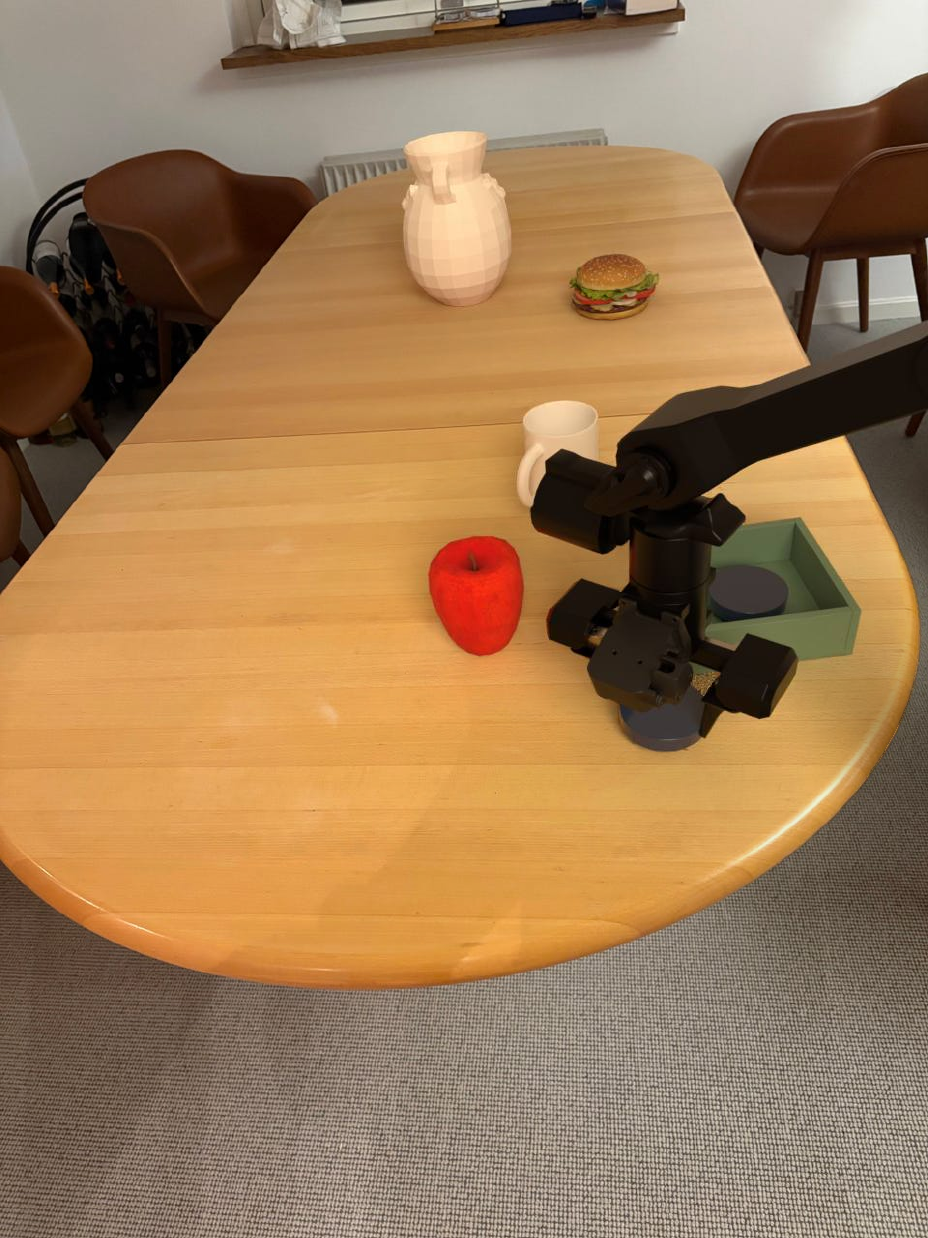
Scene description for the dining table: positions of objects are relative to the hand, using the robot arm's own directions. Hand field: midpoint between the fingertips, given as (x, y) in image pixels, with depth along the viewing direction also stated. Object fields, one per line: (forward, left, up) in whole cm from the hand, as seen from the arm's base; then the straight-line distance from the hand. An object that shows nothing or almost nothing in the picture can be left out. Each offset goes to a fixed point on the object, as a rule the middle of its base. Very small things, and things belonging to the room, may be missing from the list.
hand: (662, 717), depth 74 cm
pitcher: (+10, -106, -1) cm, 106 cm away
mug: (+4, -36, -1) cm, 36 cm away
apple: (+14, -14, -2) cm, 20 cm away
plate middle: (0, 0, -1) cm, 1 cm away
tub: (-11, -13, -1) cm, 17 cm away
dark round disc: (-11, -13, -1) cm, 17 cm away
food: (-14, -92, -1) cm, 93 cm away
